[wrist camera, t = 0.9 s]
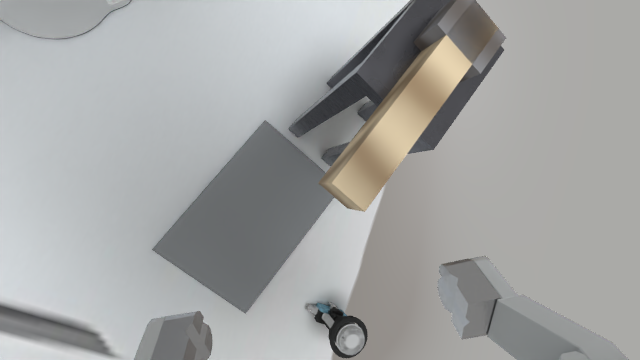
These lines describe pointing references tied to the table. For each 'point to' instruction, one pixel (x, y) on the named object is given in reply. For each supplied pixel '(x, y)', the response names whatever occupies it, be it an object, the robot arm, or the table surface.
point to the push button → (341, 329)
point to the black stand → (388, 78)
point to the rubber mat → (248, 218)
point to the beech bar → (414, 100)
